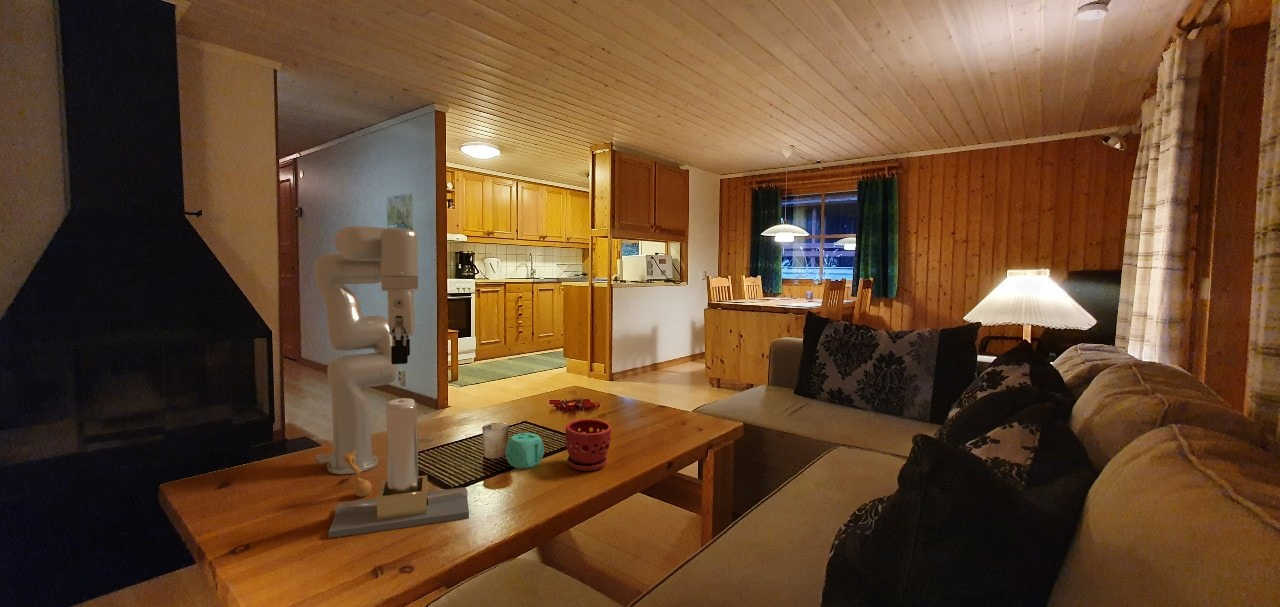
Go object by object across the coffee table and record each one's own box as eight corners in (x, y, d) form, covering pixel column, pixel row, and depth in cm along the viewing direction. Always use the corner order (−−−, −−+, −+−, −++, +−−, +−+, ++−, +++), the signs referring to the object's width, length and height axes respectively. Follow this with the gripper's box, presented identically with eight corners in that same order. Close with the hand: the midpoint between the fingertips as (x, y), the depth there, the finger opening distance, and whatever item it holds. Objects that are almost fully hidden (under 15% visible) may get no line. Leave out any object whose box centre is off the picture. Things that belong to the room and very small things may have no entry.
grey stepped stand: (329, 527, 112) (329, 504, 112) (338, 506, 122) (337, 485, 121) (468, 507, 122) (468, 486, 122) (466, 490, 132) (466, 470, 131)
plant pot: (556, 470, 150) (556, 428, 149) (579, 454, 162) (579, 416, 161) (598, 477, 145) (598, 435, 144) (617, 461, 157) (618, 421, 156)
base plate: (328, 538, 111) (328, 531, 111) (340, 509, 124) (340, 503, 124) (468, 518, 121) (468, 511, 121) (466, 492, 134) (465, 487, 134)
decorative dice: (526, 471, 148) (526, 443, 148) (504, 465, 152) (504, 438, 152) (544, 462, 155) (544, 435, 155) (523, 456, 159) (523, 430, 159)
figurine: (374, 500, 129) (373, 452, 128) (346, 506, 125) (345, 456, 124) (369, 487, 136) (368, 442, 135) (342, 493, 132) (341, 446, 131)
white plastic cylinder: (407, 515, 118) (405, 405, 117) (381, 511, 120) (379, 403, 118) (424, 502, 125) (423, 398, 123) (400, 499, 126) (398, 396, 124)
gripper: (416, 286, 112) (417, 366, 113) (419, 282, 128) (420, 352, 129) (377, 286, 109) (378, 368, 110) (385, 282, 125) (386, 354, 126)
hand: (401, 359), depth 120 cm, fingers open, 9 cm apart
